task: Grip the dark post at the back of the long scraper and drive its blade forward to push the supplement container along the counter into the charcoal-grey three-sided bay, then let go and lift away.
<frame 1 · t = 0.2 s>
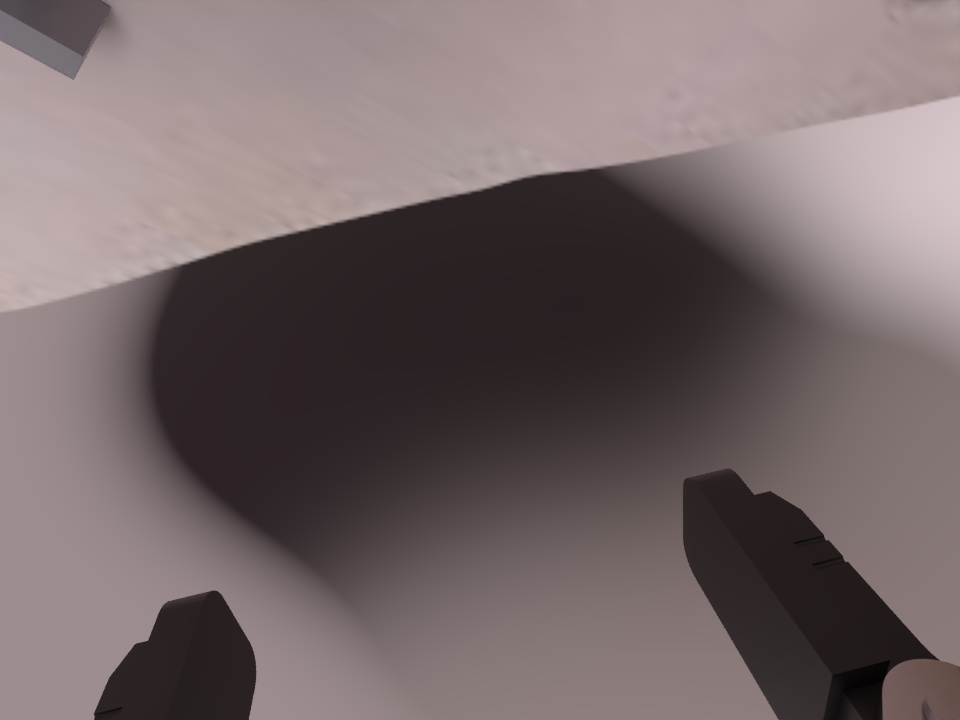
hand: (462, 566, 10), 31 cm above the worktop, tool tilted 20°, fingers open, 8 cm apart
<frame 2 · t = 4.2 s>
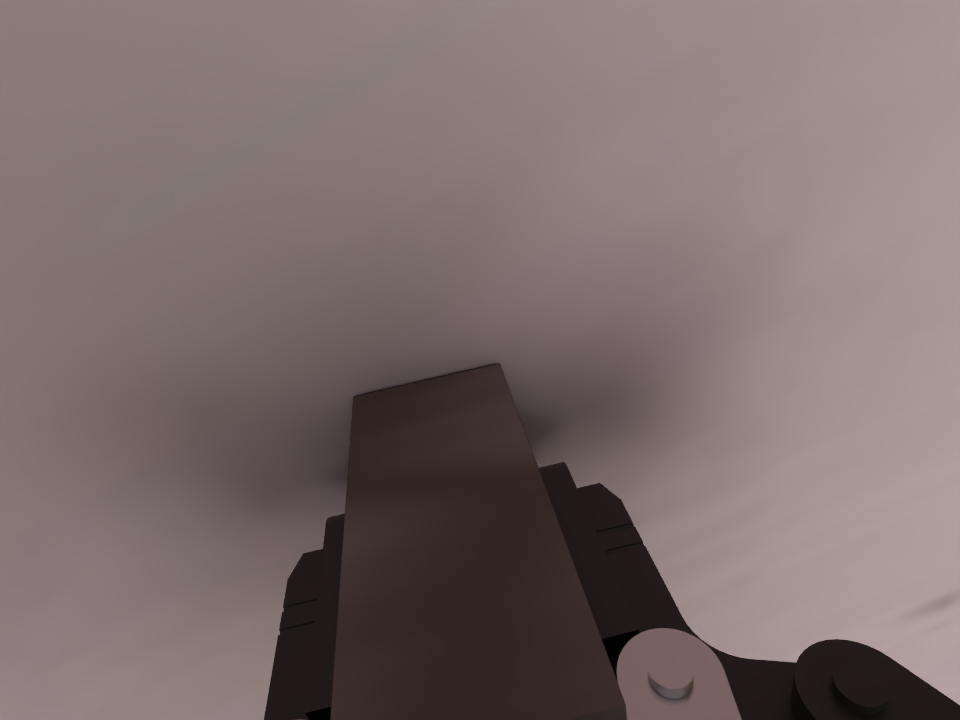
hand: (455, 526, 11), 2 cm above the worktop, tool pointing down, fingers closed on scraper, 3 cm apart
scraper: (446, 457, 13), on the worktop, touching gripper
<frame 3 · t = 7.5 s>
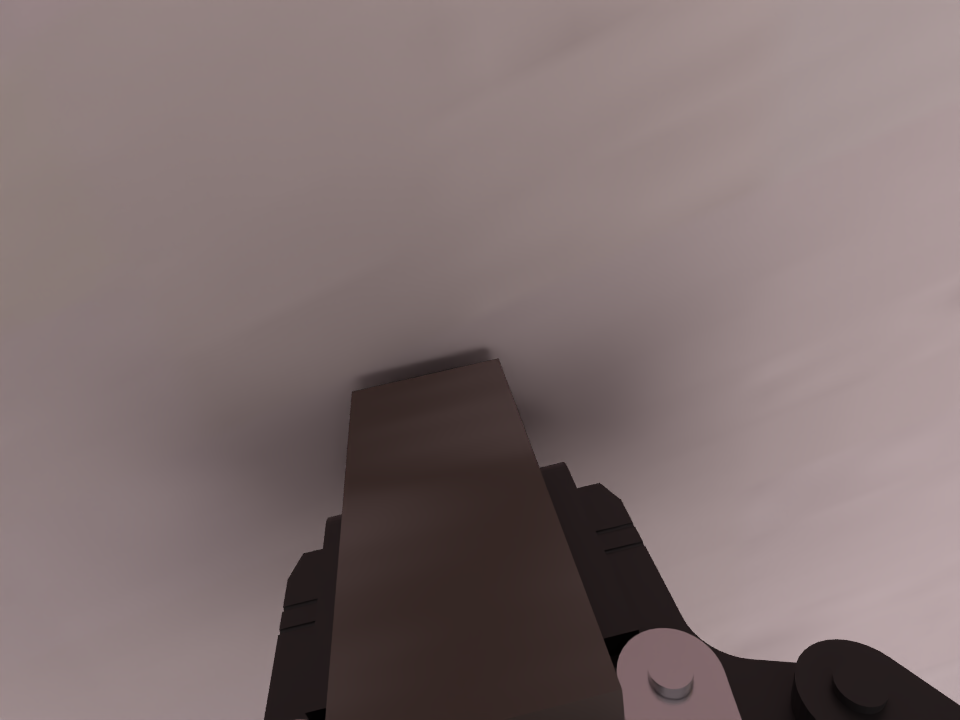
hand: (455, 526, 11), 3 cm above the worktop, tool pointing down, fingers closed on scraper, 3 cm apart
scraper: (445, 452, 13), point 1 cm above the worktop, touching gripper, supplement container
when the fingers open (2 cm above the worktop, at t = 9.5 s): scraper stays where it is, on the worktop.
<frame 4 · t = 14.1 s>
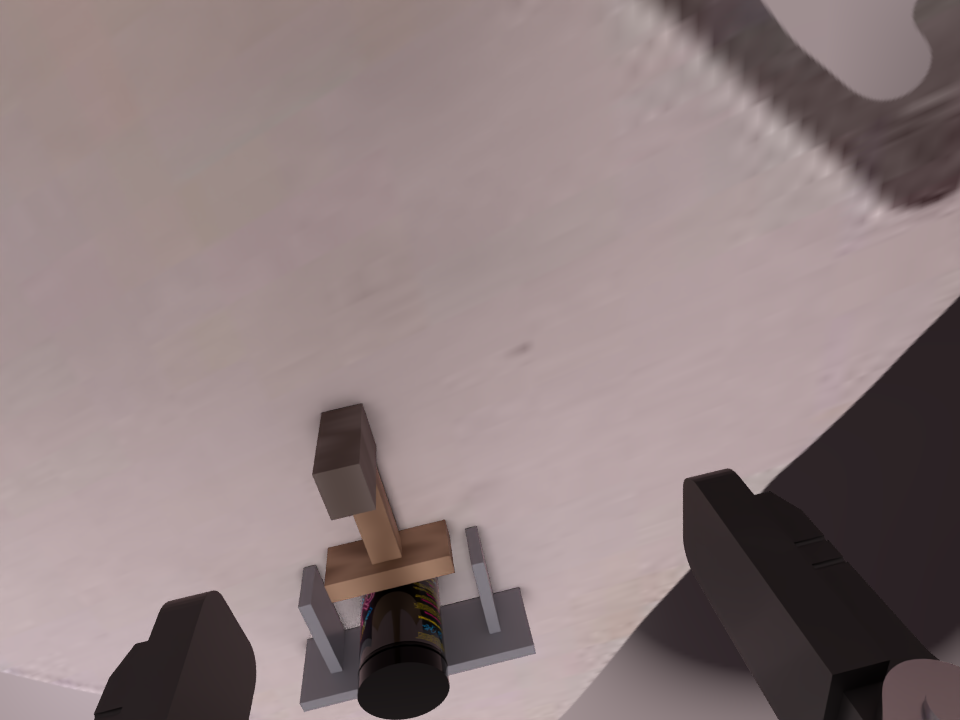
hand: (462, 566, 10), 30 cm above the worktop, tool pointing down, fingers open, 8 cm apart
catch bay: (404, 586, 53), on the worktop
scraper: (349, 429, 44), on the worktop
supplement container: (399, 577, 52), on the worktop
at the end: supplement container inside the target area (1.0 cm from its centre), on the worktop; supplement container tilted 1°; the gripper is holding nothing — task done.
